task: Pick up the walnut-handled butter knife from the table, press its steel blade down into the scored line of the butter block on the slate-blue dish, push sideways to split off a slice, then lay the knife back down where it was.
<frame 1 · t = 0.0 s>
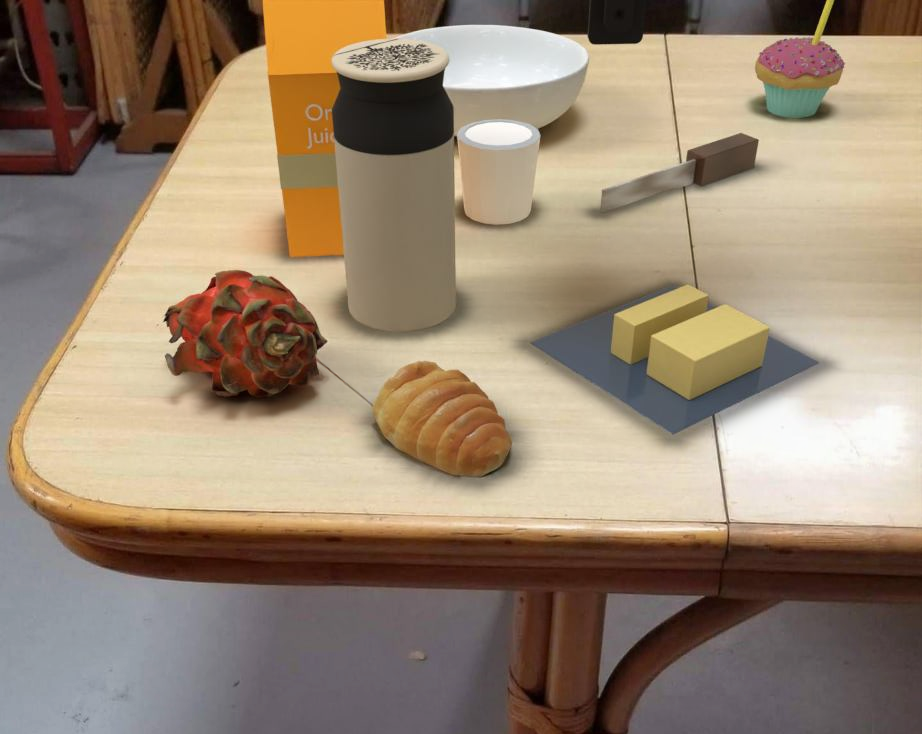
hand: (603, 18, 67), 20 cm above the table, tool pointing down, fingers open, 9 cm apart
butter block: (704, 370, 72), point 1 cm above the table, touching butter dish
butter slice: (657, 343, 75), point 1 cm above the table, touching butter dish
travel mug: (402, 313, 80), on the table
dragon fruit: (248, 386, 72), on the table
pastry: (444, 439, 67), on the table
knife: (718, 177, 98), on the table
butter dish: (671, 359, 74), on the table
orange juice: (344, 241, 89), on the table
cupcake: (789, 115, 110), on the table
cup of milk: (497, 216, 92), on the table
serving bowl: (481, 126, 108), on the table
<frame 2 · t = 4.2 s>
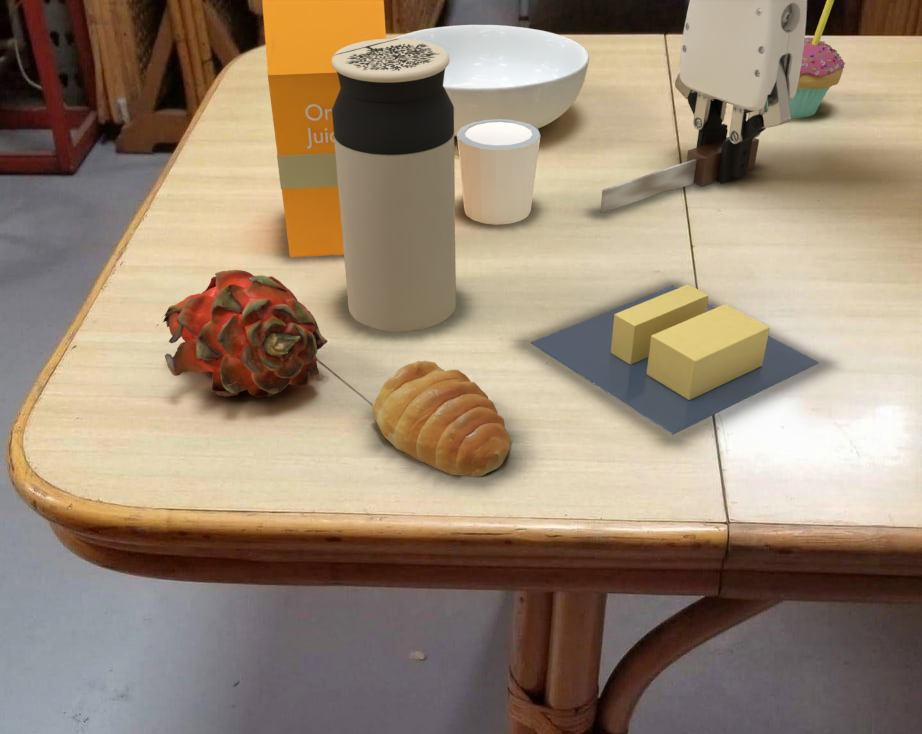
hand: (719, 175, 98), 0 cm above the table, tool pointing down, fingers closed on knife, 2 cm apart
knife: (718, 177, 98), on the table, touching gripper
everything else where it was.
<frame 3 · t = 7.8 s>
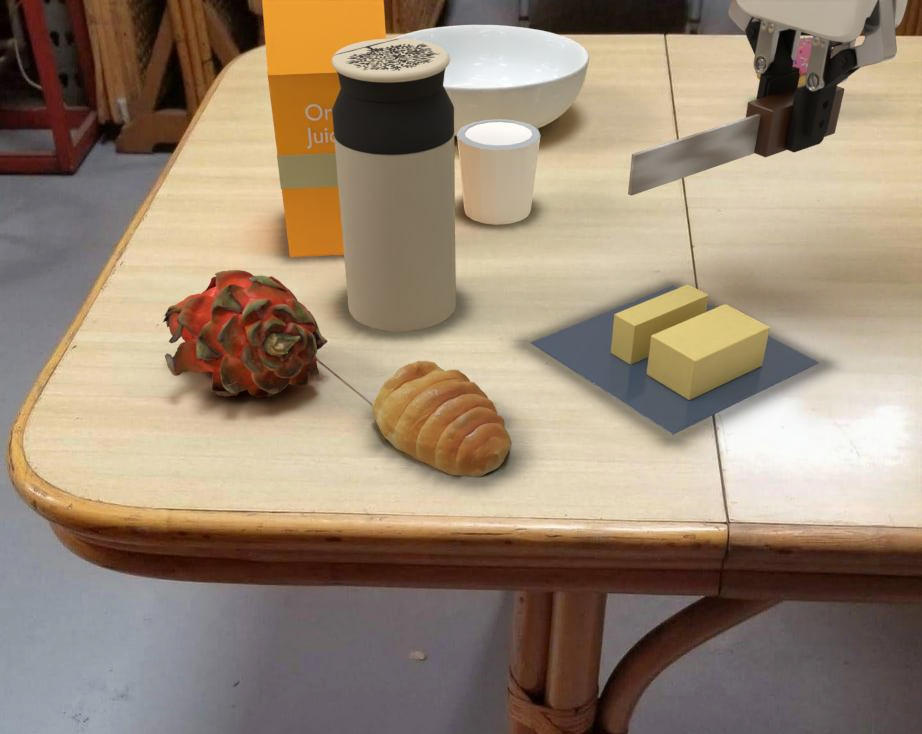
hand: (786, 137, 72), 12 cm above the table, tool pointing down, fingers closed on knife
knife: (788, 140, 72), point 12 cm above the table, touching gripper
everything else where it was.
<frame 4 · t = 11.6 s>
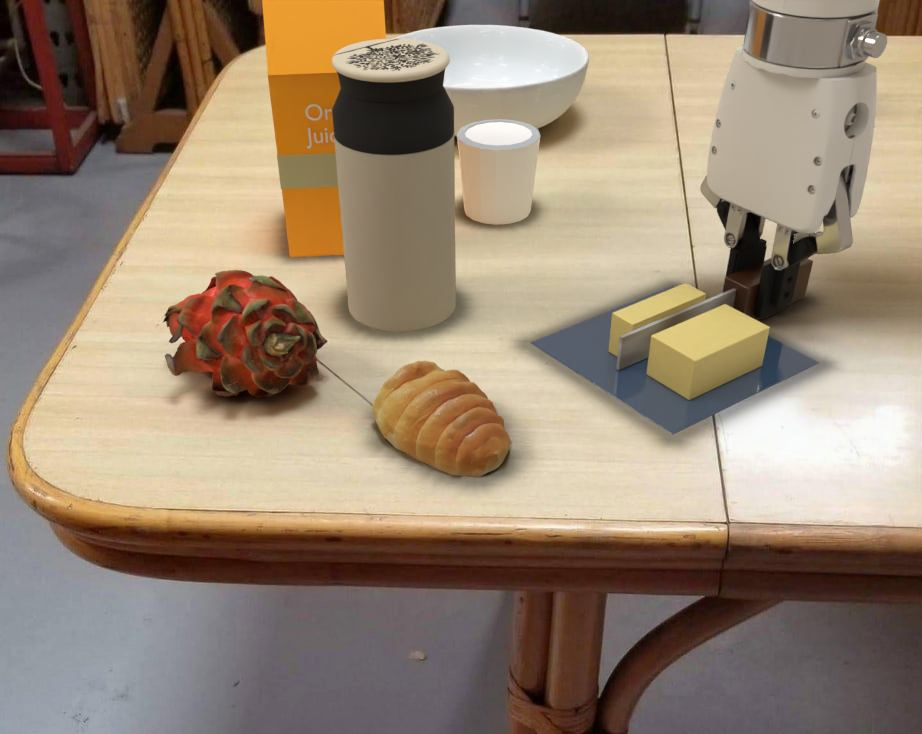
hand: (755, 302, 78), 1 cm above the table, tool pointing down, fingers closed on knife, 2 cm apart
butter slice: (654, 341, 75), point 1 cm above the table, touching knife
knife: (762, 306, 78), point 1 cm above the table, touching butter slice, gripper
everything else where it was.
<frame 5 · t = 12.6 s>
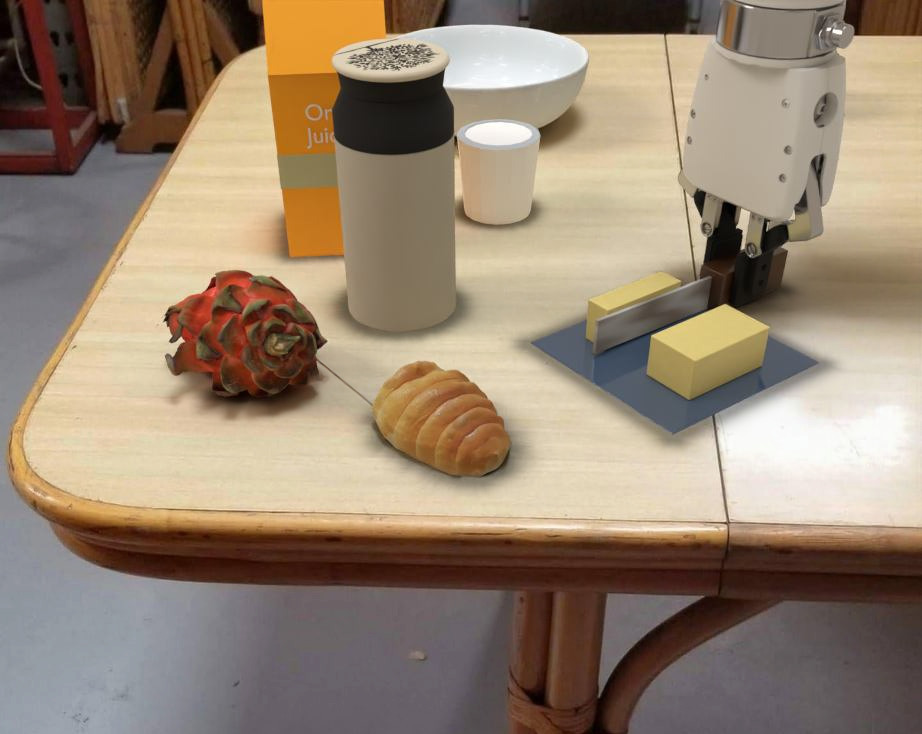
hand: (731, 290, 79), 1 cm above the table, tool pointing down, fingers closed on knife, 2 cm apart
butter slice: (631, 328, 76), point 1 cm above the table, touching butter dish, knife
knife: (738, 294, 80), point 1 cm above the table, touching butter dish, butter slice, gripper
everything else where it was.
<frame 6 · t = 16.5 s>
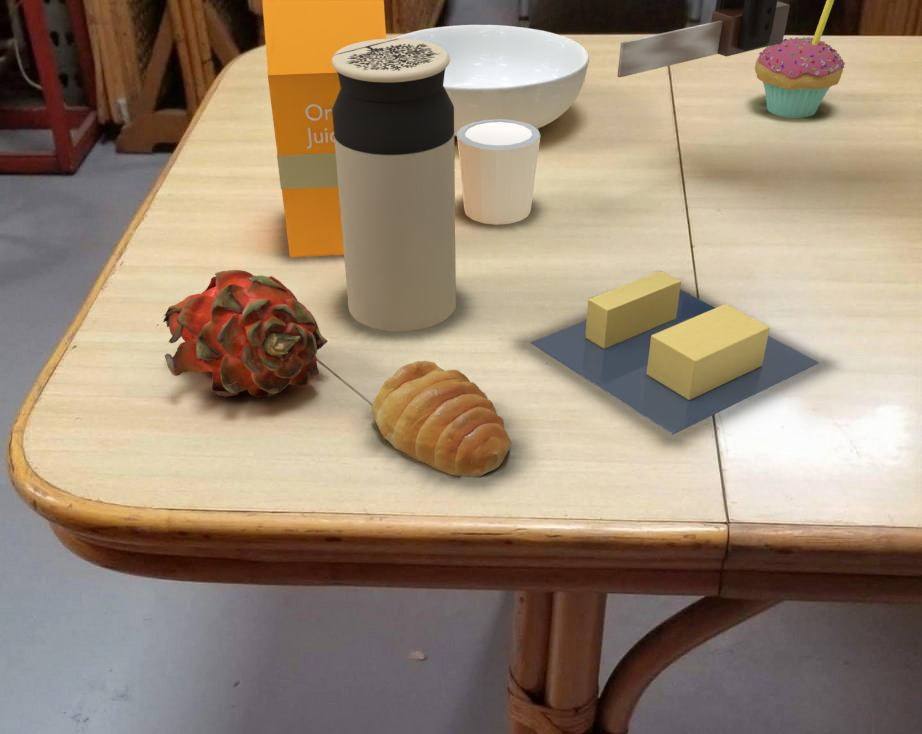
hand: (739, 40, 89), 12 cm above the table, tool pointing down, fingers closed on knife
butter slice: (631, 328, 76), point 1 cm above the table, touching butter dish
knife: (744, 46, 89), point 12 cm above the table, touching gripper
everything else where it was.
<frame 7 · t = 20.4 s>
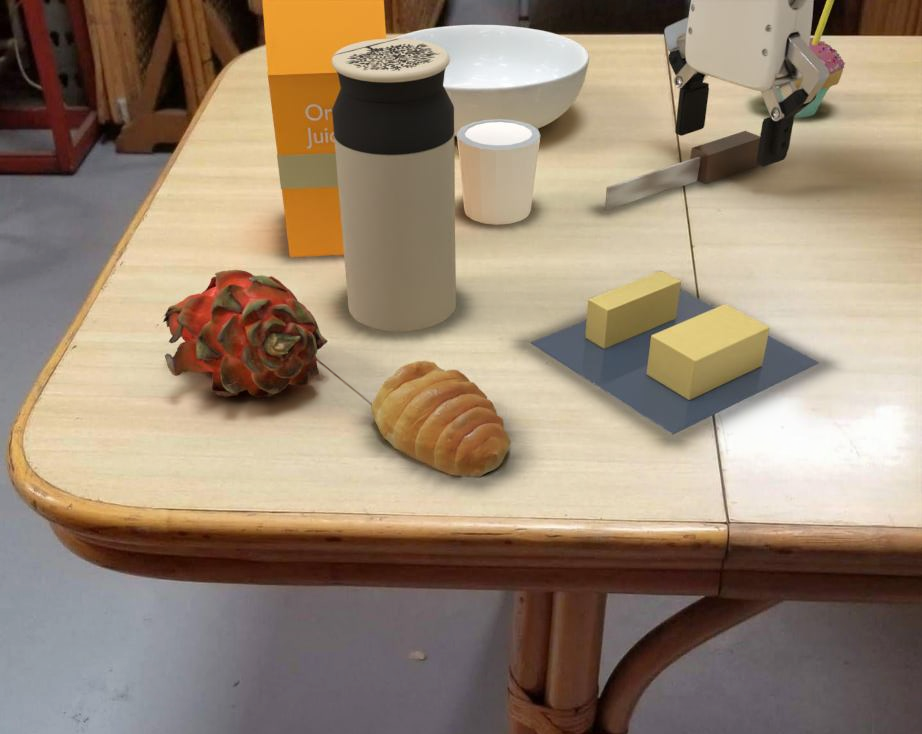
hand: (729, 146, 96), 3 cm above the table, tool pointing down, fingers open, 9 cm apart
knife: (722, 175, 98), on the table
everything else where it was.
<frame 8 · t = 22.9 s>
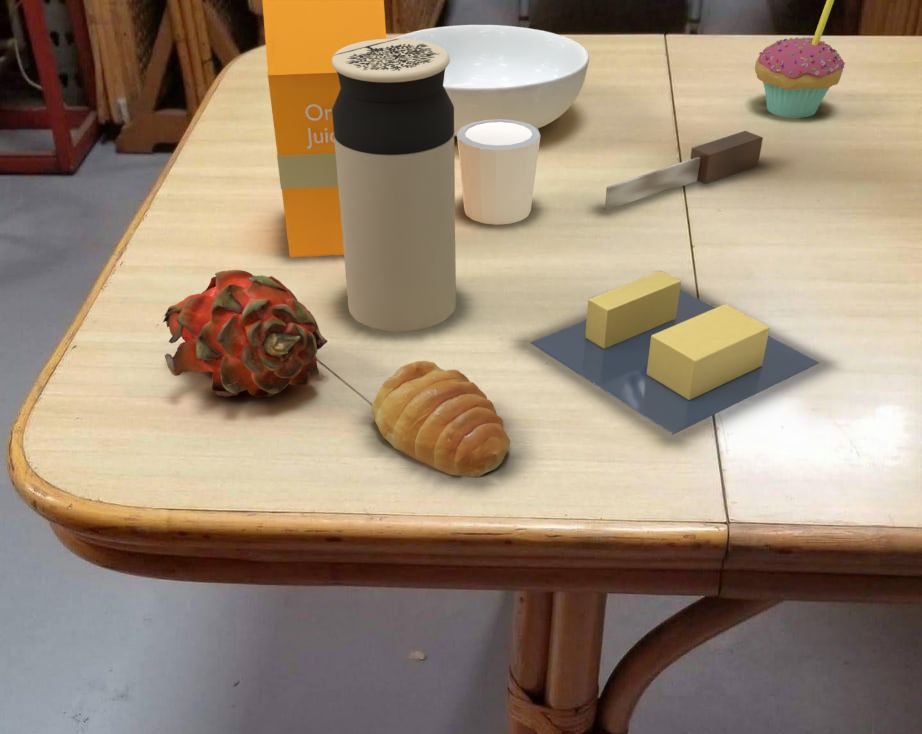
nothing on the table moved.
at the end: butter slice moved 2.6 cm from its start; butter block moved 0.0 cm from its start; knife inside the target area (0.7 cm from its centre), on the table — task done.
